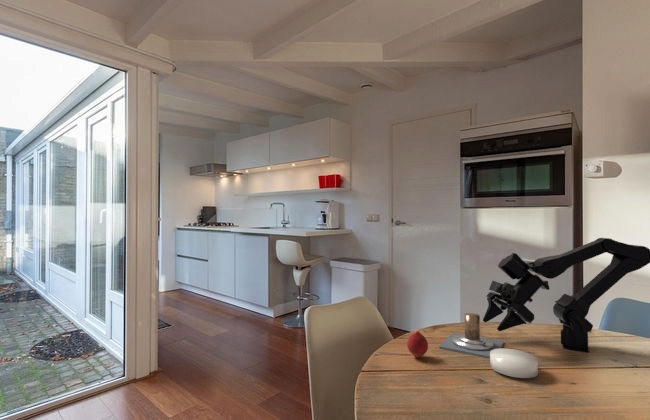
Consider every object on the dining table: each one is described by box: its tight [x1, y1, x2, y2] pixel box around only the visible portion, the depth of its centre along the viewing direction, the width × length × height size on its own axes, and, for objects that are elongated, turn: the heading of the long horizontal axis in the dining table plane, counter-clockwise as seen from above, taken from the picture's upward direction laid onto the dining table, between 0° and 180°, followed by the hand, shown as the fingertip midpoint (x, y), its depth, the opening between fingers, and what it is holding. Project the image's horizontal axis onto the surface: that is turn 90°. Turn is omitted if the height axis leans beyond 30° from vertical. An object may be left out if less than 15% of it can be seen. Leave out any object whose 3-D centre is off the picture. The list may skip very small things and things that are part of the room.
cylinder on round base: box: [452, 312, 493, 351], centre depth 110 cm, size 12×12×9 cm
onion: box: [406, 329, 429, 359], centre depth 101 cm, size 6×6×8 cm
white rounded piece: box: [489, 347, 539, 379], centre depth 91 cm, size 11×11×4 cm
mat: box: [438, 332, 505, 359], centre depth 110 cm, size 16×16×1 cm
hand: (490, 325), depth 110 cm, fingers open, 9 cm apart
